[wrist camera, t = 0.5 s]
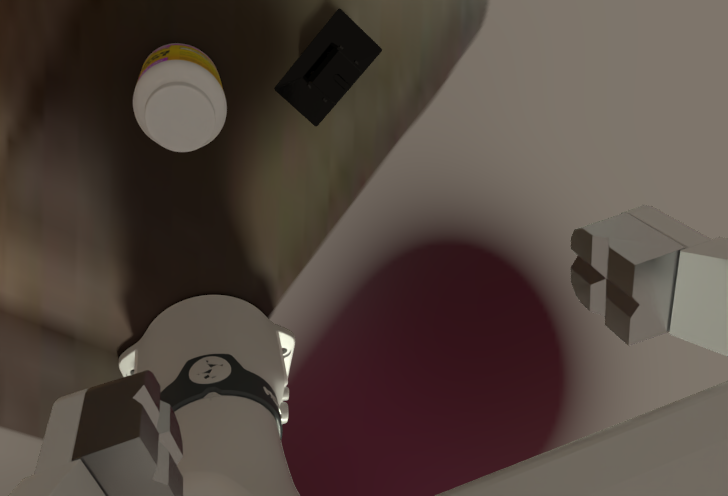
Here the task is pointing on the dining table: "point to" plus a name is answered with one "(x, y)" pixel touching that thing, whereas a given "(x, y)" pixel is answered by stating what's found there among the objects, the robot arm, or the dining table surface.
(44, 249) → the dining table surface
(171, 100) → the supplement bottle
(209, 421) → the robot arm
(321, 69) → the black box
